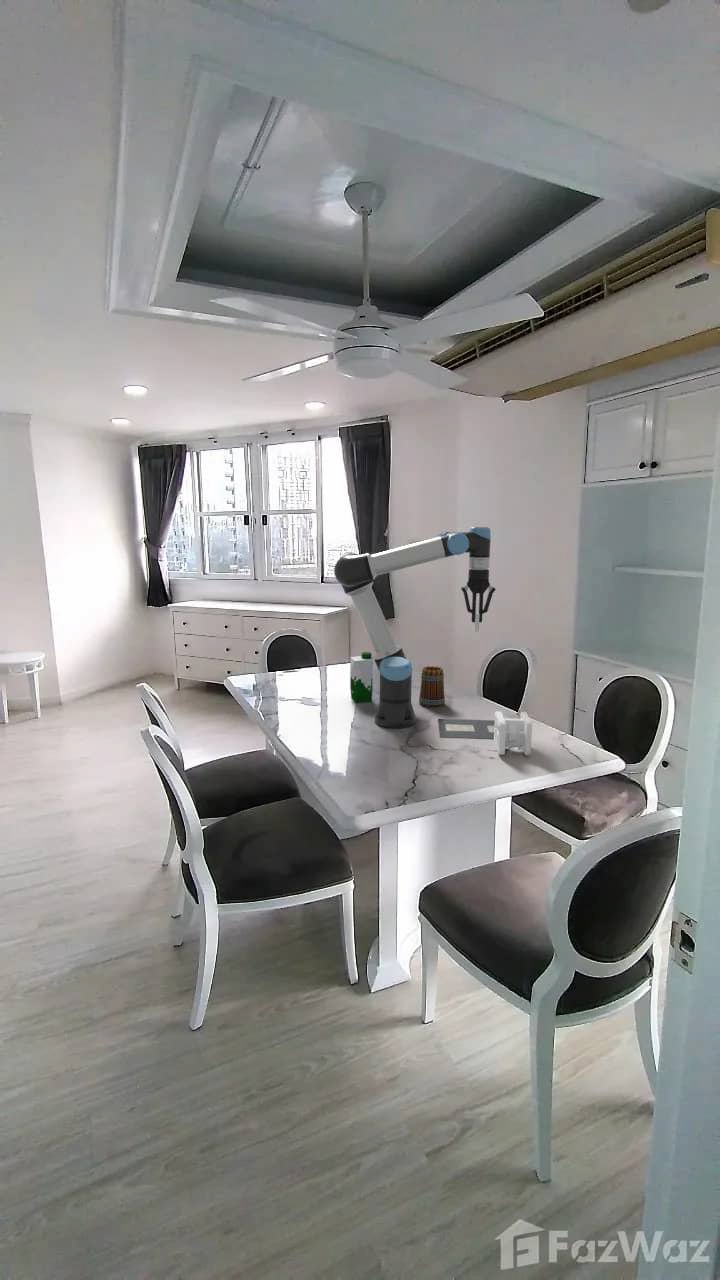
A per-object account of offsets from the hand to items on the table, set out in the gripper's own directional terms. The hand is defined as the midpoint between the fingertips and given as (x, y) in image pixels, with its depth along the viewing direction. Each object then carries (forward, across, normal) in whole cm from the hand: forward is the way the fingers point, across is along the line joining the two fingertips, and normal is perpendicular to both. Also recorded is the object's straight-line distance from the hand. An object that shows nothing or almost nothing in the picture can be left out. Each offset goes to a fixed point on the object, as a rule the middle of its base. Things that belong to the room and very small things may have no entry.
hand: (476, 630), depth 231 cm
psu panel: (+32, +1, -20) cm, 38 cm away
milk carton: (+33, -45, +12) cm, 57 cm away
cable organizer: (+33, +8, -40) cm, 52 cm away
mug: (+33, -16, +12) cm, 38 cm away
